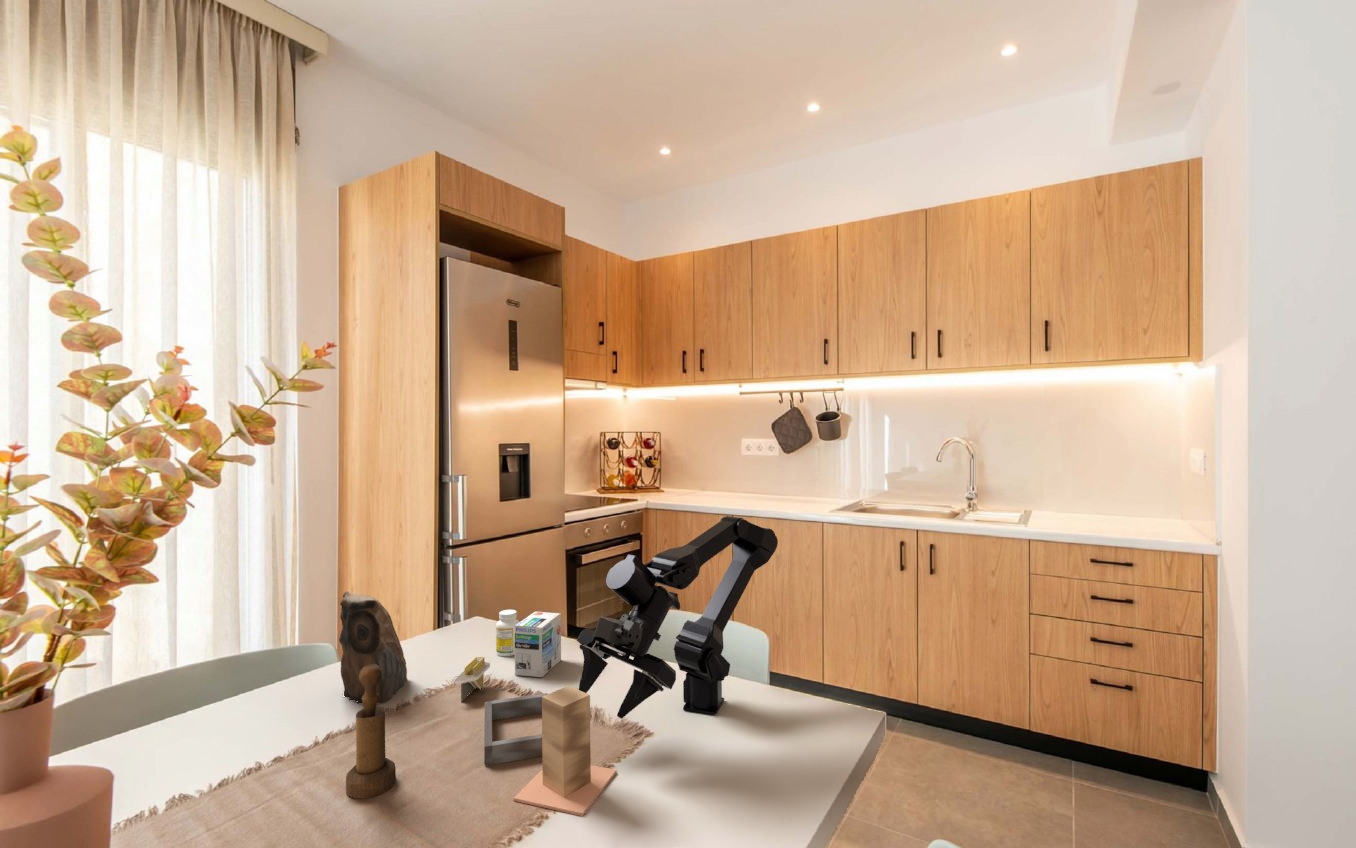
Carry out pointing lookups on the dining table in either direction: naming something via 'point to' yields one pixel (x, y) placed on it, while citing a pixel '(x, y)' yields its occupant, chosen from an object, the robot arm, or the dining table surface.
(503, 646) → the supplement bottle
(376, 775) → the mortar and pestle
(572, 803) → the mat
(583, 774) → the block
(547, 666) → the light bulb box
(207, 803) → the dining table surface
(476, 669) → the platform
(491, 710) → the nook
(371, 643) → the owl
